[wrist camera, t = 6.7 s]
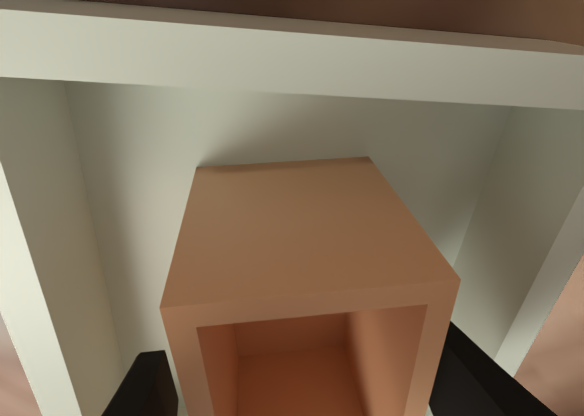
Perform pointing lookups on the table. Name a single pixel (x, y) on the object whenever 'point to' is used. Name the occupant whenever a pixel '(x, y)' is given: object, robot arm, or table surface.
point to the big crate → (265, 149)
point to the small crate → (304, 293)
